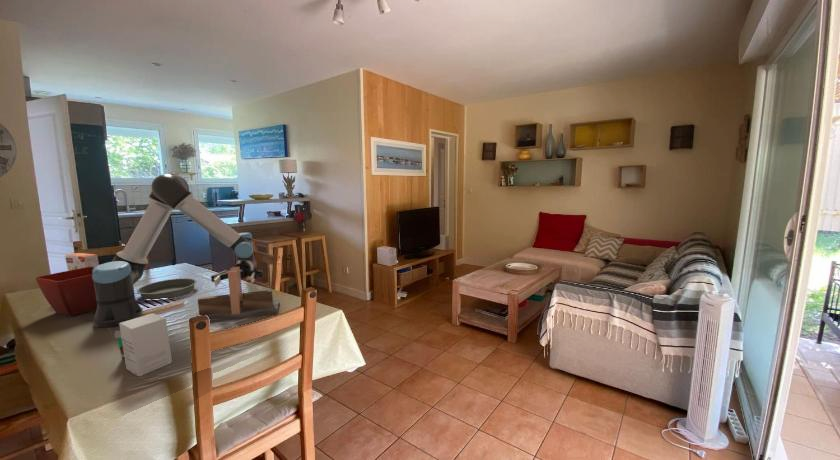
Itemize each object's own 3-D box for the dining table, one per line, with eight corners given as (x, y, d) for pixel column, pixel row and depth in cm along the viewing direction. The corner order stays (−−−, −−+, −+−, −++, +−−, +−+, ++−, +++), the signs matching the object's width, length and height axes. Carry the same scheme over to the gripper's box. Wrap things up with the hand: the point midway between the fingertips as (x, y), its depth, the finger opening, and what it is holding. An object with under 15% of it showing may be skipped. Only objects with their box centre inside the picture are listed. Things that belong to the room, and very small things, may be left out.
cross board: (199, 311, 150) (197, 293, 148) (279, 302, 159) (277, 285, 158) (189, 324, 136) (187, 304, 135) (276, 313, 146) (275, 295, 145)
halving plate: (235, 306, 151) (231, 267, 149) (243, 306, 152) (239, 266, 150) (231, 314, 143) (227, 272, 140) (239, 313, 144) (235, 271, 141)
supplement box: (159, 355, 112) (153, 312, 110) (173, 363, 108) (167, 317, 106) (125, 369, 105) (118, 322, 103) (138, 377, 100) (131, 328, 98)
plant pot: (41, 314, 149) (34, 276, 146) (96, 300, 166) (90, 266, 163) (64, 321, 141) (57, 281, 139) (119, 305, 159) (114, 269, 156)
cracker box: (71, 295, 172) (64, 254, 169) (85, 291, 178) (79, 252, 175) (90, 298, 168) (83, 256, 165) (104, 294, 174) (98, 253, 171)
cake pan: (138, 292, 177) (137, 284, 176) (195, 283, 192) (194, 275, 191) (136, 306, 158) (135, 297, 157) (200, 294, 172) (199, 286, 172)
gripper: (271, 273, 168) (267, 286, 148) (213, 279, 160) (200, 293, 140) (270, 258, 167) (265, 269, 147) (212, 263, 159) (198, 275, 139)
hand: (234, 281), depth 144 cm, fingers open, 13 cm apart
